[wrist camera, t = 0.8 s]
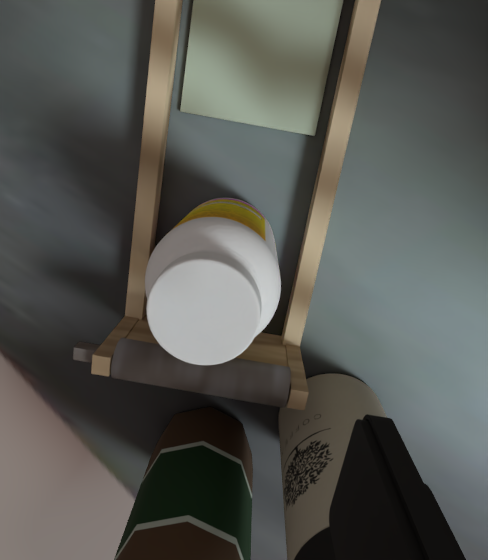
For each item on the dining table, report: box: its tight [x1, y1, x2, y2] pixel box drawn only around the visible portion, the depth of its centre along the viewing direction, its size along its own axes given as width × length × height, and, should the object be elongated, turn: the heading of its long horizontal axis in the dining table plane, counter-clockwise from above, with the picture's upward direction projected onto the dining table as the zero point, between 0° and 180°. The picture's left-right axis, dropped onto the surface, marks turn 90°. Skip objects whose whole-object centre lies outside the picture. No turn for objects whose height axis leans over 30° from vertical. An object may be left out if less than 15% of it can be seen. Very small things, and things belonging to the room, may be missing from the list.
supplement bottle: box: [145, 198, 281, 365], centre depth 23 cm, size 7×7×13 cm
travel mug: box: [278, 374, 387, 560], centre depth 24 cm, size 8×8×18 cm
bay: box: [73, 0, 381, 410], centre depth 24 cm, size 27×14×7 cm, turn 170°
